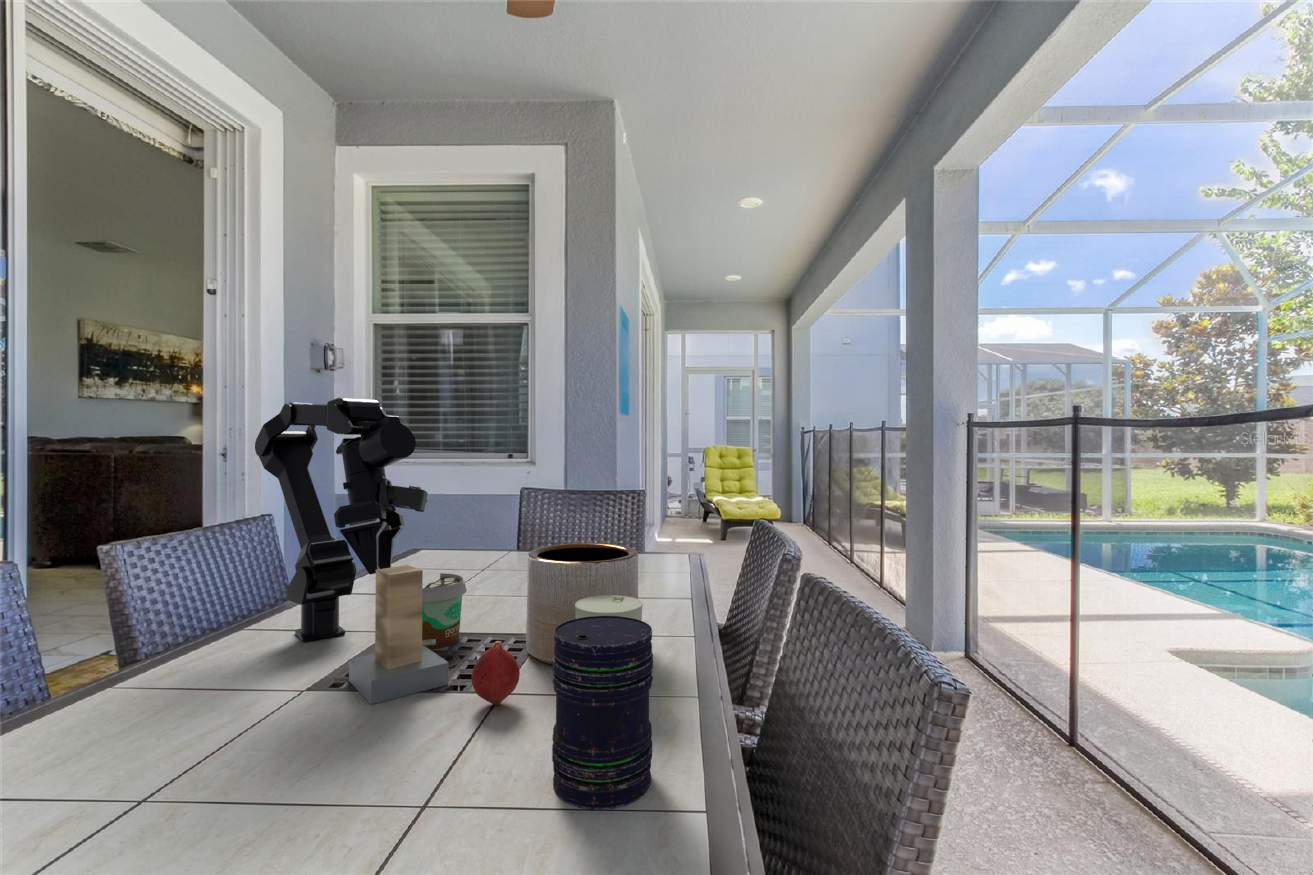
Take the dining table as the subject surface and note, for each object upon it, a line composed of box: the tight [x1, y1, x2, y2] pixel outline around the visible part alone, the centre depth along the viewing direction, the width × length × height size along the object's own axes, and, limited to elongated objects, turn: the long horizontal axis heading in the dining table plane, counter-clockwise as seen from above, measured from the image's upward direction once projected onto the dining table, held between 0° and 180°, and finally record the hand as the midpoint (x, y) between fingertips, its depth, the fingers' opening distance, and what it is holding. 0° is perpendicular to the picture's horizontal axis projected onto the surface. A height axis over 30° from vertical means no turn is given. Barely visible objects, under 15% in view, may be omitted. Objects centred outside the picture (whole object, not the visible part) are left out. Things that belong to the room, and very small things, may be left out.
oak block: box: [374, 564, 424, 669], centre depth 86 cm, size 4×4×12 cm
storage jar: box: [551, 616, 654, 811], centre depth 62 cm, size 10×10×15 cm
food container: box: [422, 572, 467, 651], centre depth 104 cm, size 12×6×10 cm, turn 179°
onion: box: [470, 640, 521, 706], centre depth 79 cm, size 6×6×8 cm
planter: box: [525, 542, 639, 666], centre depth 100 cm, size 18×18×16 cm
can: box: [575, 595, 644, 621], centre depth 85 cm, size 9×9×12 cm
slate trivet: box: [348, 645, 450, 705], centre depth 86 cm, size 10×10×3 cm
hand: (380, 573), depth 96 cm, fingers open, 9 cm apart
